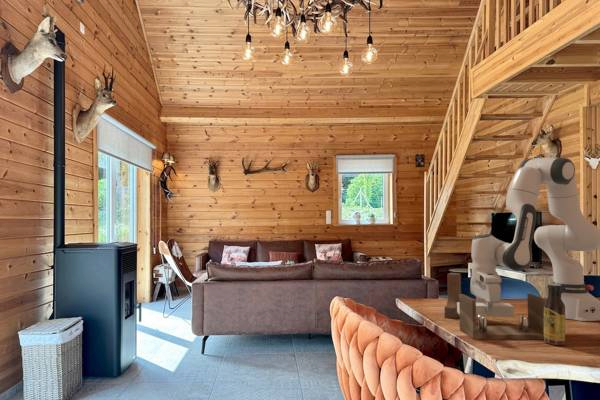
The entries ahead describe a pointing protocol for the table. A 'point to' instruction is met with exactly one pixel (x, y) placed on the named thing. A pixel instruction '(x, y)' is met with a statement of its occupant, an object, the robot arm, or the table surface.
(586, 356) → the table surface
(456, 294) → the wooden block
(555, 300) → the sauce bottle
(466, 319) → the brown open-topped frame
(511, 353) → the table surface
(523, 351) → the table surface
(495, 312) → the white rectangular block
